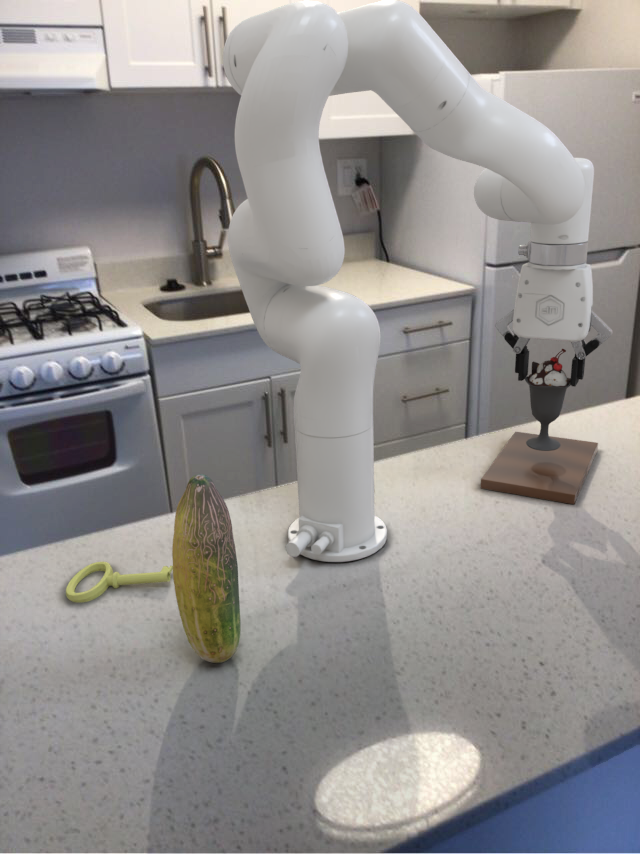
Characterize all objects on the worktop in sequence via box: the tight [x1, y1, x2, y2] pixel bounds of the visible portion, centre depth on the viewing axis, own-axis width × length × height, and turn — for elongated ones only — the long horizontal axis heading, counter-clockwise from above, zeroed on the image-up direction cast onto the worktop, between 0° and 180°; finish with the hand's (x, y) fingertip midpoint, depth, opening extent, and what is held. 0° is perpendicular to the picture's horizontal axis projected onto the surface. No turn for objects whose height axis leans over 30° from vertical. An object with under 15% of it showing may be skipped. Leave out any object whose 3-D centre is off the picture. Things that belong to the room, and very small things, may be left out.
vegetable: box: [171, 473, 241, 664], centre depth 72 cm, size 6×6×20 cm
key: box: [65, 561, 173, 604], centre depth 89 cm, size 7×12×2 cm, turn 103°
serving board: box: [480, 431, 599, 505], centre depth 113 cm, size 20×13×2 cm, turn 153°
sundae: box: [524, 348, 571, 451], centre depth 109 cm, size 7×7×15 cm
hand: (548, 379), depth 109 cm, fingers closed on sundae, 6 cm apart
